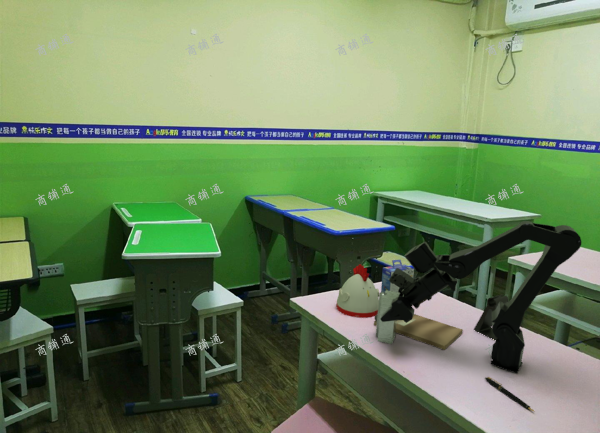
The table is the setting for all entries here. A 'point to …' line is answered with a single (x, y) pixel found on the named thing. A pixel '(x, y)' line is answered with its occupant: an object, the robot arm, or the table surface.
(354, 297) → the kitchen timer
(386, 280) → the ink cartridge box
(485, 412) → the table surface
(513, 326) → the robot arm
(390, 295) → the brushed steel block
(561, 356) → the table surface
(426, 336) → the walnut base leaf
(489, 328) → the phone stand
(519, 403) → the fountain pen
